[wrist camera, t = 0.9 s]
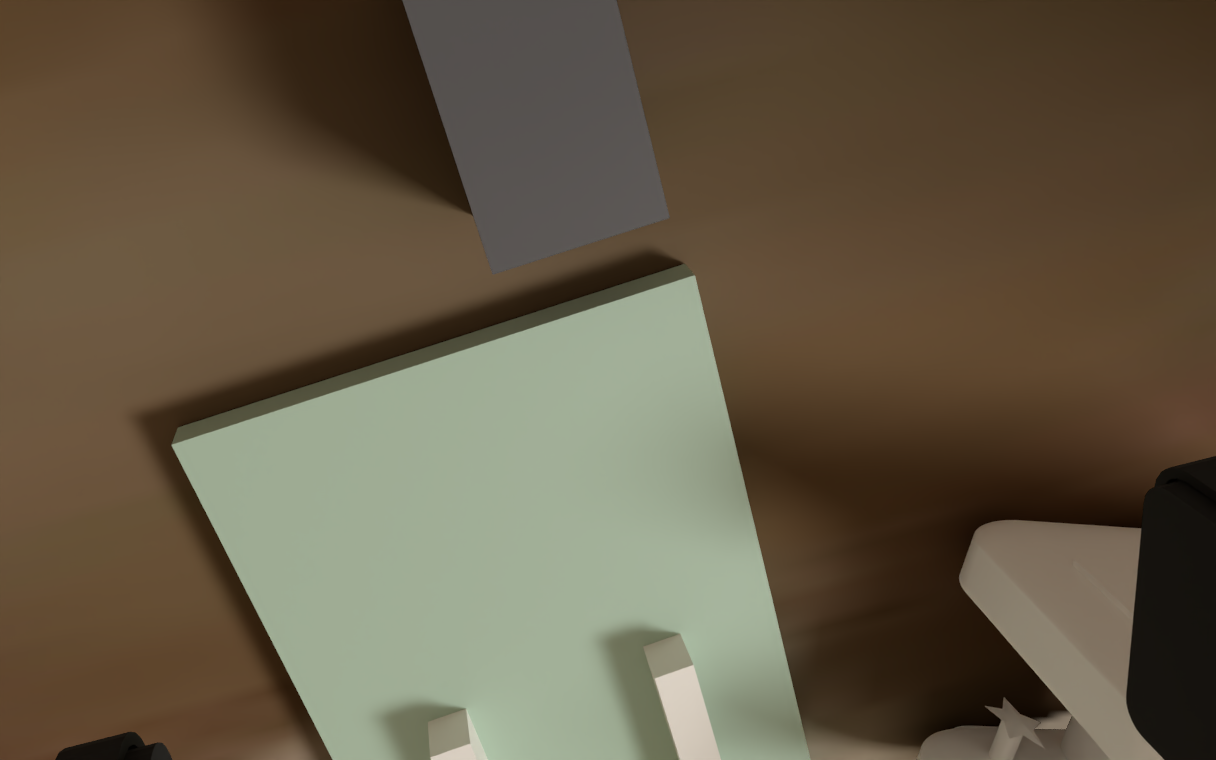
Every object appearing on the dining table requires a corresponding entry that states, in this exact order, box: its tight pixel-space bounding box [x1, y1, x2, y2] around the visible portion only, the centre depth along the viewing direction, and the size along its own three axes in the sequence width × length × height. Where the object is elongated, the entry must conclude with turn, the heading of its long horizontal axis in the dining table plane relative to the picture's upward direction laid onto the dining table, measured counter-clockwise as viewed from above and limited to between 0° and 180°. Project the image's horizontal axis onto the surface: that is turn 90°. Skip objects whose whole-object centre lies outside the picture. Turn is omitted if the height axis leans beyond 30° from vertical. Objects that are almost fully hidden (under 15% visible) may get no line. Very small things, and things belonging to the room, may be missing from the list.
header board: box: [171, 264, 810, 760], centre depth 30 cm, size 14×20×5 cm
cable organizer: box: [917, 520, 1164, 760], centre depth 32 cm, size 15×11×12 cm
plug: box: [402, 0, 670, 274], centre depth 24 cm, size 4×6×5 cm, turn 15°
